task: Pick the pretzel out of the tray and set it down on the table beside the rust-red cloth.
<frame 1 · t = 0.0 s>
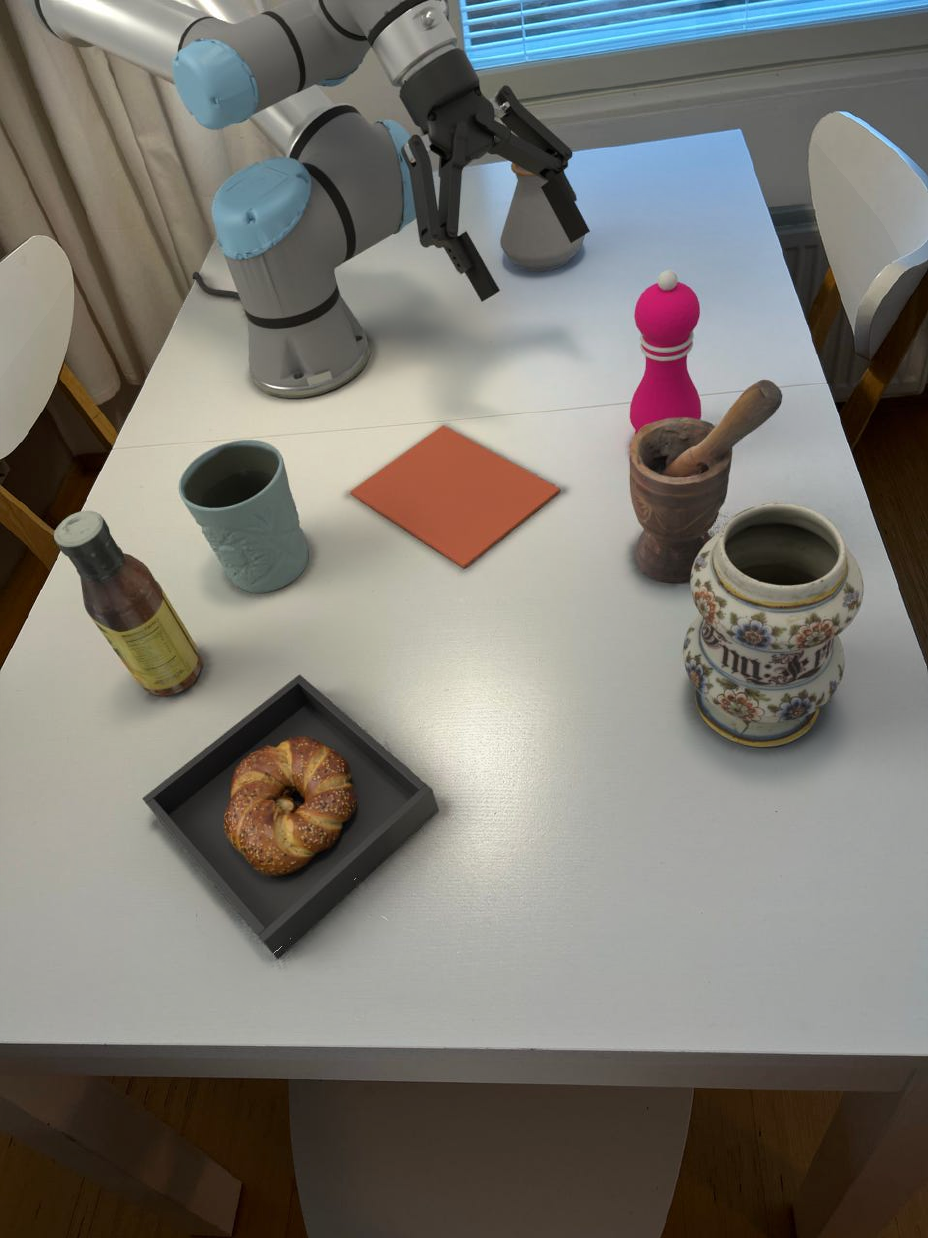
hand: (537, 266, 98), 15 cm above the table, tool tilted 35°, fingers open, 13 cm apart
coffee pot: (537, 241, 132), on the table
pepper mill: (664, 447, 100), on the table
mortar and pestle: (692, 555, 89), on the table
sauce bottle: (173, 676, 89), on the table
tray: (295, 814, 77), on the table
light blue ceramic cup: (269, 562, 97), on the table
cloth: (453, 492, 100), on the table
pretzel: (294, 813, 77), resting on tray
apothecary jar: (755, 698, 78), on the table
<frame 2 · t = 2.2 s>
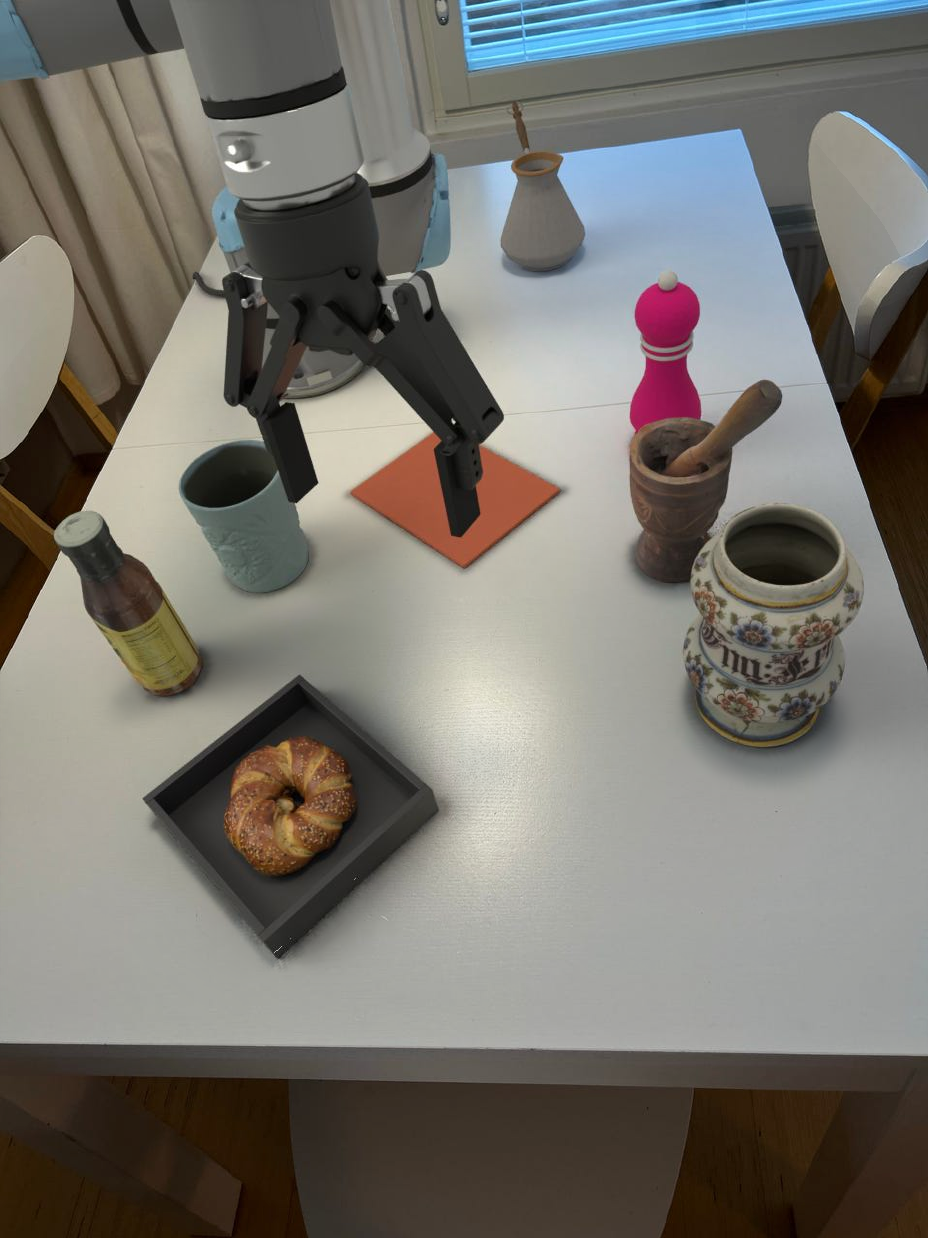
hand: (381, 508, 65), 23 cm above the table, tool pointing down, fingers open, 13 cm apart
nothing on the table moved.
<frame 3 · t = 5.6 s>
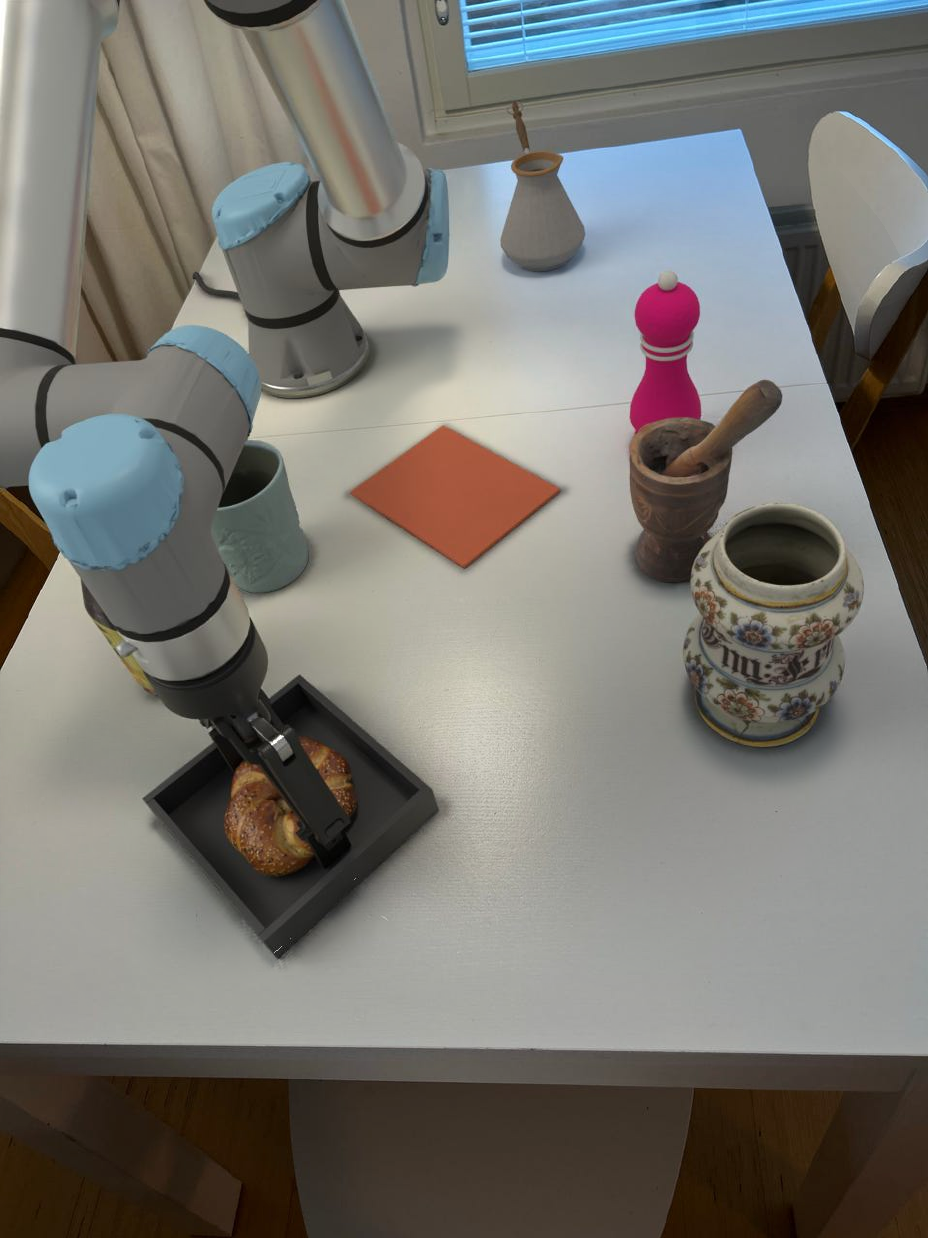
hand: (291, 809, 76), 1 cm above the table, tool pointing down, fingers closed on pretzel, 11 cm apart
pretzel: (295, 814, 77), resting on tray, touching gripper
everything else where it was.
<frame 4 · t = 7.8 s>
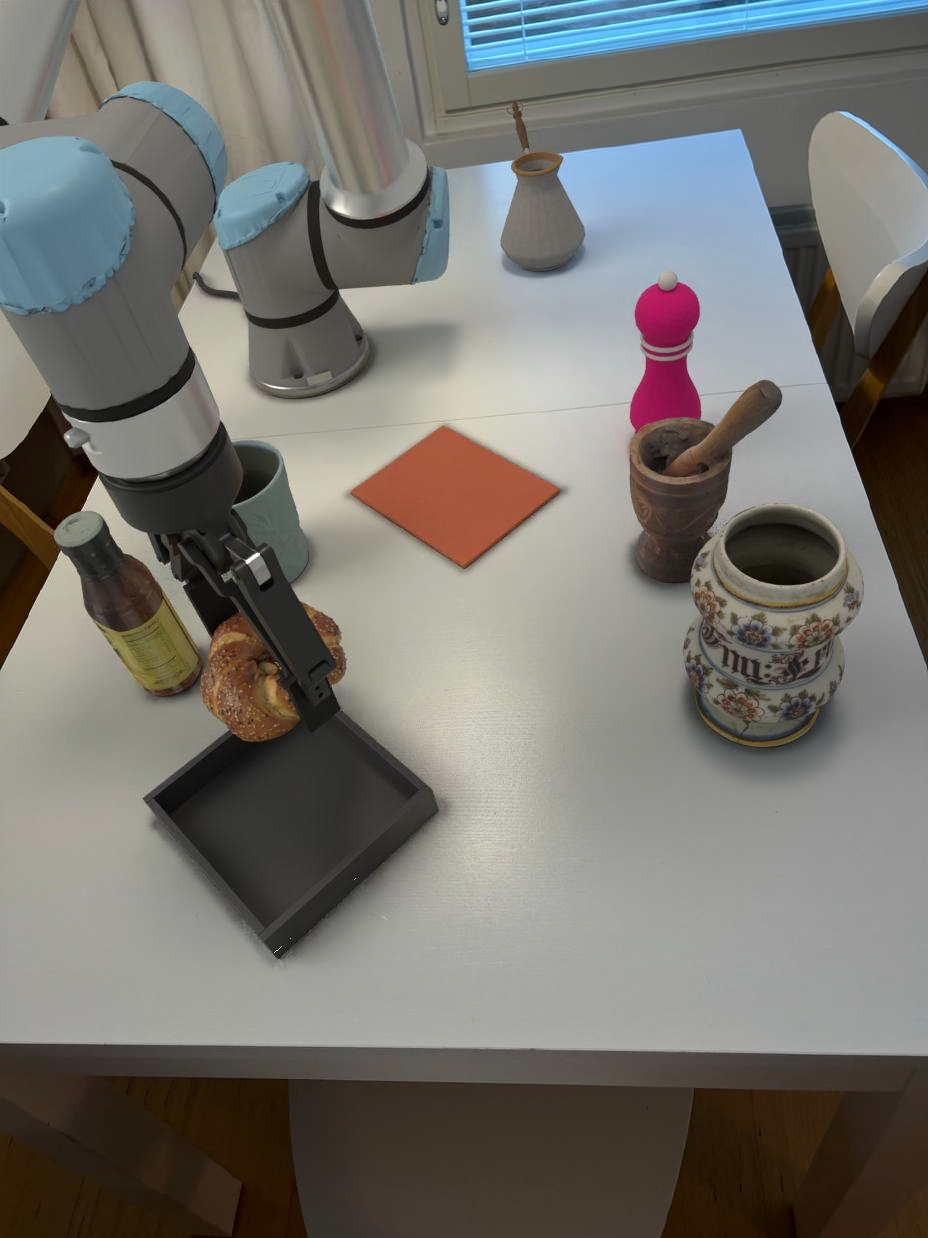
hand: (274, 675, 69), 13 cm above the table, tool pointing down, fingers closed on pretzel, 11 cm apart
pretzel: (279, 680, 69), point 13 cm above the table, touching gripper
everything else where it was.
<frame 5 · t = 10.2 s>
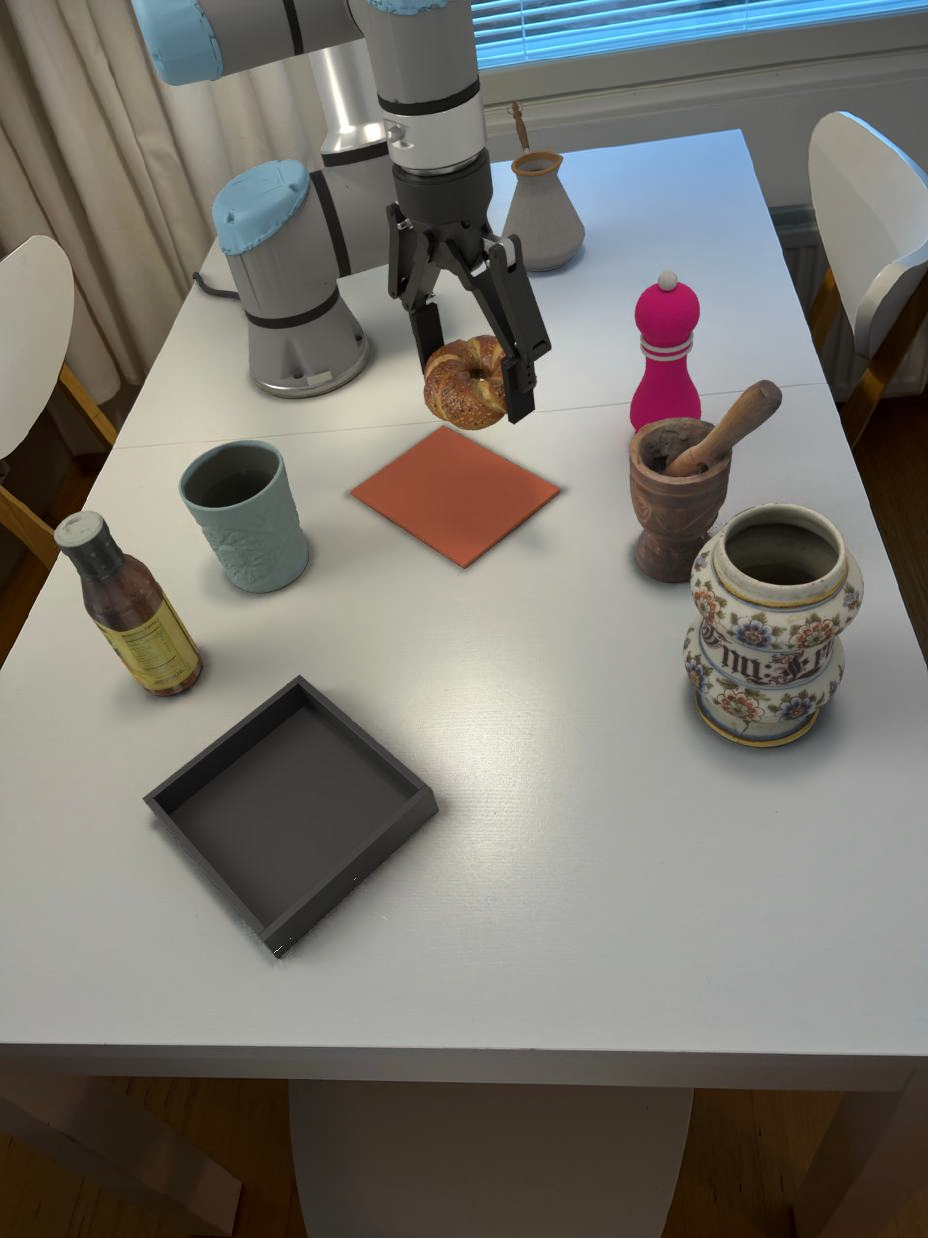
hand: (477, 391, 88), 14 cm above the table, tool pointing down, fingers closed on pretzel, 11 cm apart
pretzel: (480, 396, 88), point 13 cm above the table, touching gripper
everything else where it was.
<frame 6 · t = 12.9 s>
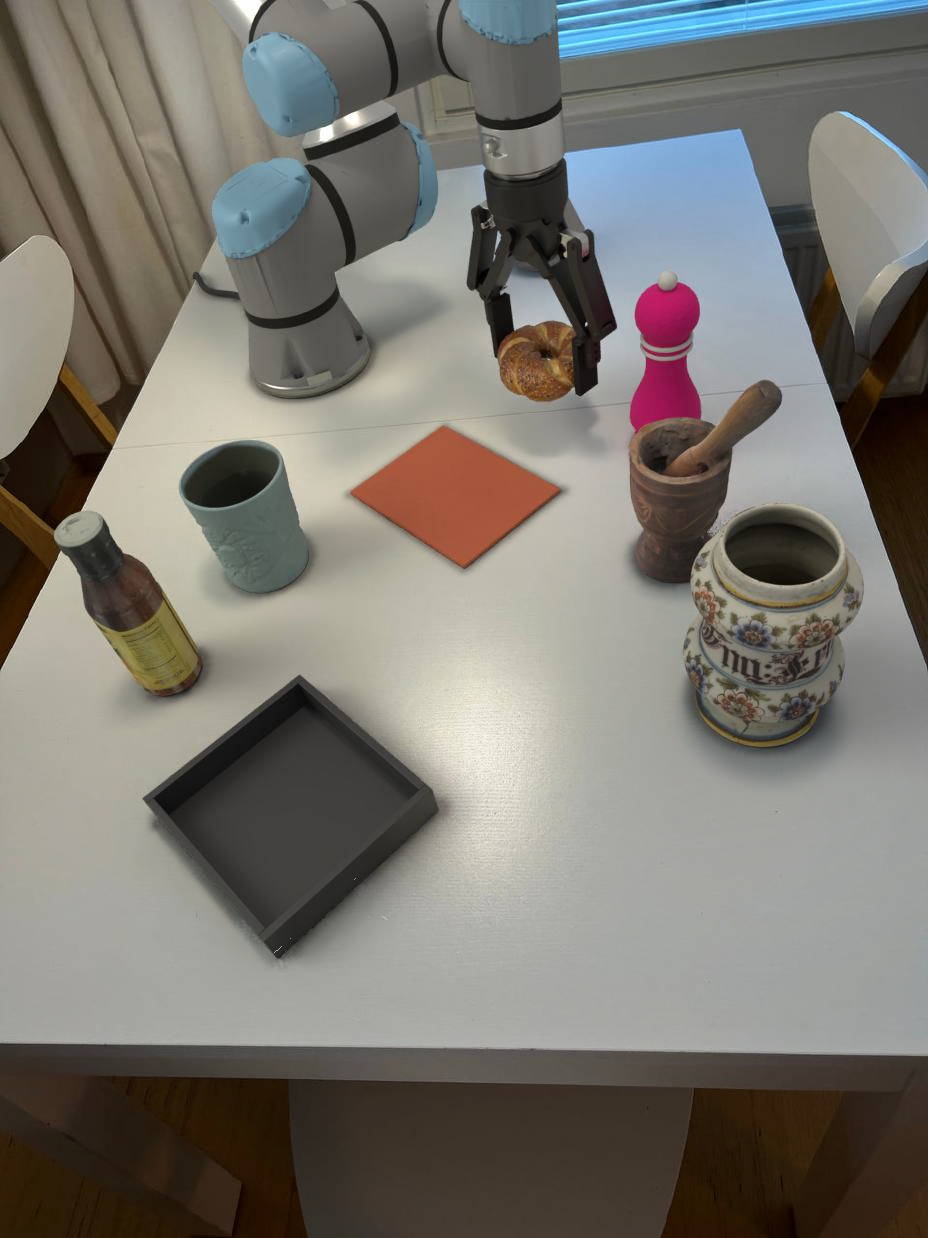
hand: (544, 370, 100), 7 cm above the table, tool pointing down, fingers closed on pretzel, 11 cm apart
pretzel: (547, 374, 100), point 6 cm above the table, touching gripper
everything else where it was.
when the fingers open (0 cm above the table, at t = 15.1 s): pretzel stays where it is, on the table.
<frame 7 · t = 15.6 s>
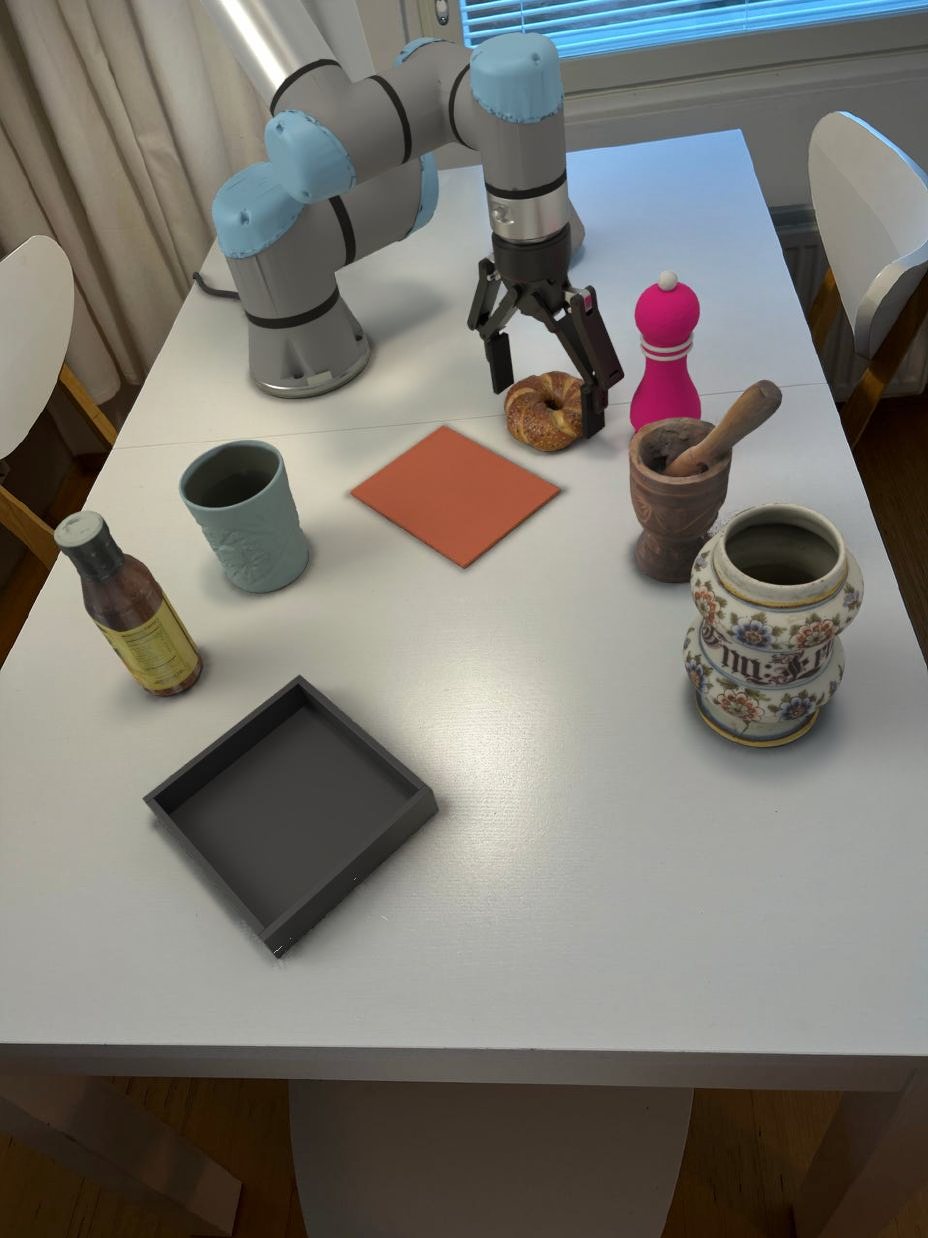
hand: (547, 409, 104), 1 cm above the table, tool pointing down, fingers open, 13 cm apart
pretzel: (551, 422, 105), on the table
everything else where it was.
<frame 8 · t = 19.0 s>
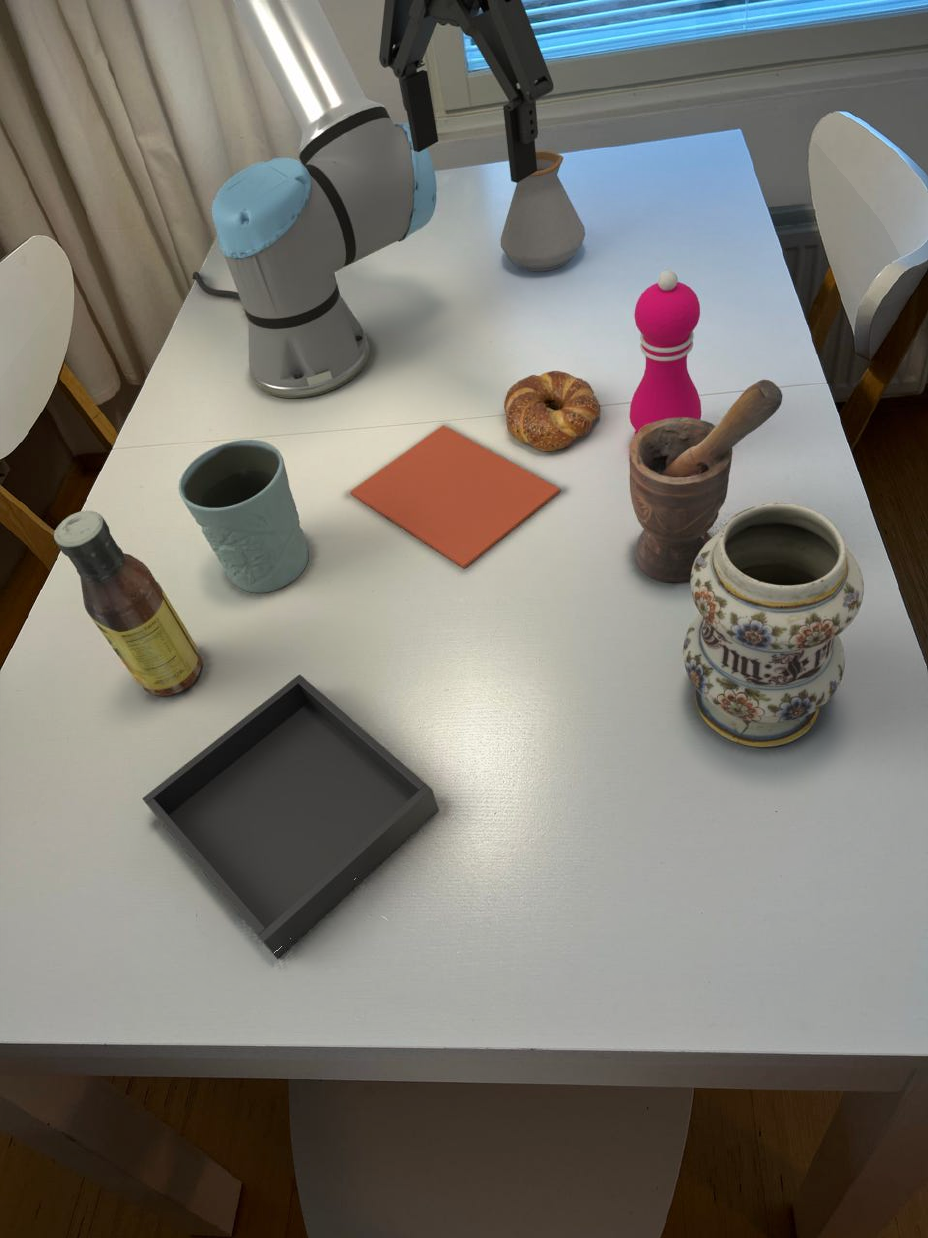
hand: (473, 160, 90), 27 cm above the table, tool pointing down, fingers open, 13 cm apart
nothing on the table moved.
at the end: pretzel inside the target area on the table beside the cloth (0.6 cm from its centre), on the table; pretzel touching table; the gripper is holding nothing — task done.
